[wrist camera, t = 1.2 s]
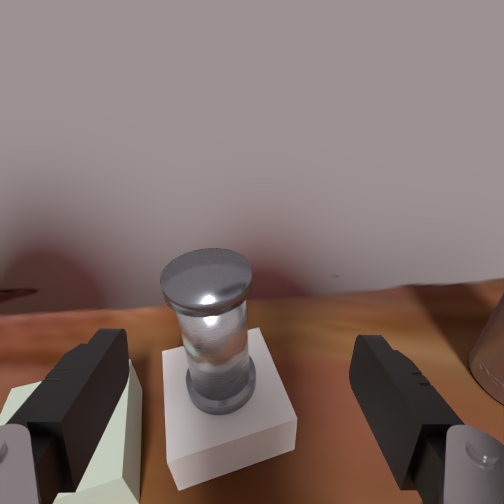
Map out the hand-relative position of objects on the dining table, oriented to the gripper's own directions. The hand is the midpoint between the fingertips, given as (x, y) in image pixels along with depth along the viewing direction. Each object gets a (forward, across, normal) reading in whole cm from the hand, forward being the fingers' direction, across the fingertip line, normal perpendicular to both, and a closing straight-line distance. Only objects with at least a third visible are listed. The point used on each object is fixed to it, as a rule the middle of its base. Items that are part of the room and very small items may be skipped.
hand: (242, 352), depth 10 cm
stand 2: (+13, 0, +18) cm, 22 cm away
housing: (+12, +1, +13) cm, 18 cm away
